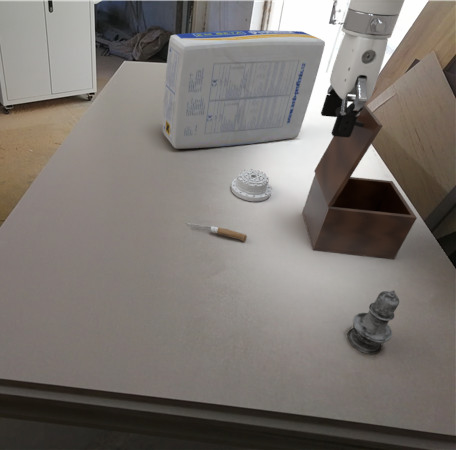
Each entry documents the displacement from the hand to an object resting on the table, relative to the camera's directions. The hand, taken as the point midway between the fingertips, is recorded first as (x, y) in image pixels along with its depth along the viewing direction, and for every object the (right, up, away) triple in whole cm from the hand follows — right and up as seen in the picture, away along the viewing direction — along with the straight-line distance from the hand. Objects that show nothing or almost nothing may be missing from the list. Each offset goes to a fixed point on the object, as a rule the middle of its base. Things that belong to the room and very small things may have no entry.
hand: (334, 125), depth 75 cm
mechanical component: (-9, -10, +27) cm, 30 cm away
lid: (+3, -4, +3) cm, 6 cm away
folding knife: (-21, -21, +13) cm, 32 cm away
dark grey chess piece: (+1, -38, -8) cm, 39 cm away
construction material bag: (-10, +8, +51) cm, 53 cm away
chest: (+9, -21, +15) cm, 27 cm away
